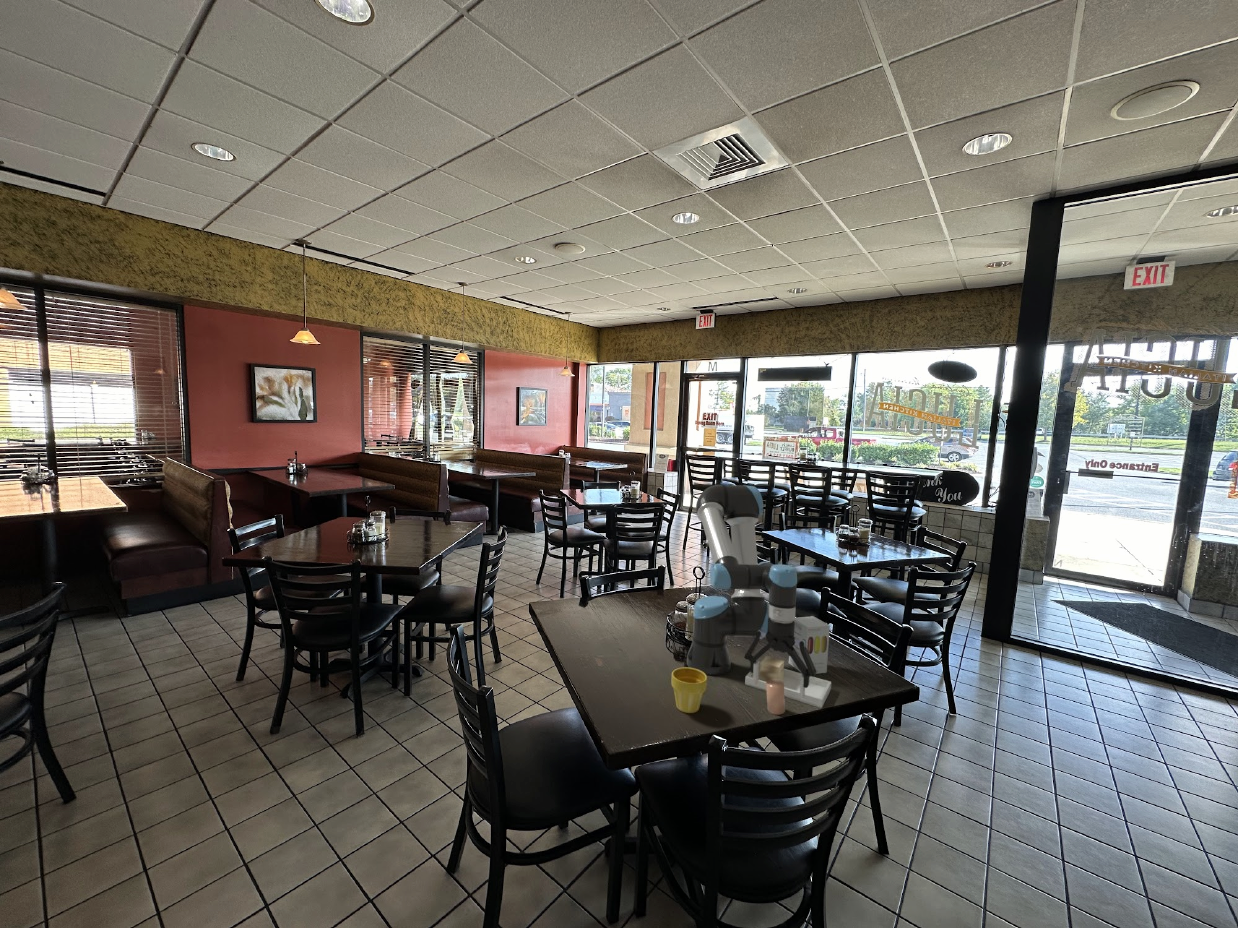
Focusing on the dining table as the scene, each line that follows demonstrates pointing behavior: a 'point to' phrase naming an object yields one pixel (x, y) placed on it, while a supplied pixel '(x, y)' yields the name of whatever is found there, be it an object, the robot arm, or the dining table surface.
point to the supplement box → (812, 641)
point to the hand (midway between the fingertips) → (778, 690)
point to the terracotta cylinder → (775, 696)
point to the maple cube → (771, 669)
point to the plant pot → (688, 688)
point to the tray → (797, 687)
